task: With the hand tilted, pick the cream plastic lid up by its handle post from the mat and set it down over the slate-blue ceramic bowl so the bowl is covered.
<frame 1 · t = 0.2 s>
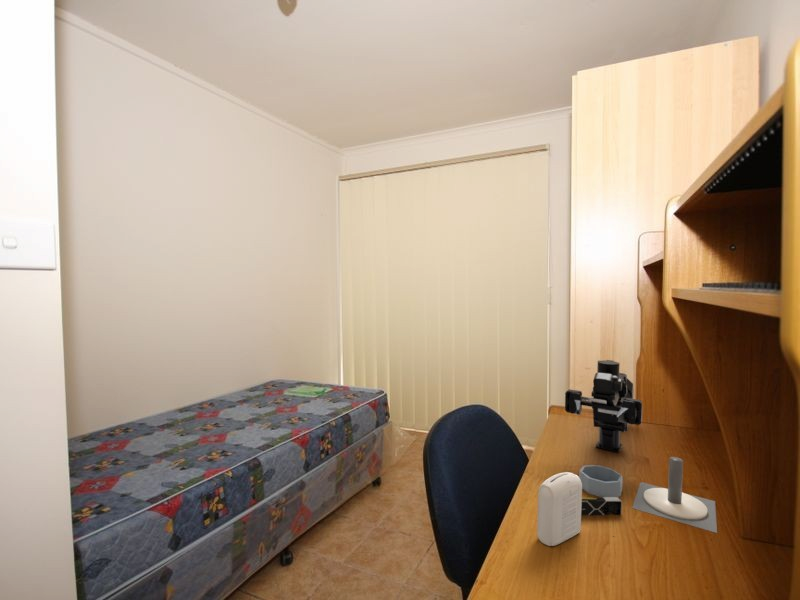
hand: (596, 415, 104), 17 cm above the table, tool horizontal, fingers open, 9 cm apart
mat: (674, 506, 93), on the table
lid: (674, 504, 93), resting on mat
graphics card: (593, 516, 89), on the table
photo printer: (559, 536, 82), on the table
bowl: (600, 489, 100), on the table
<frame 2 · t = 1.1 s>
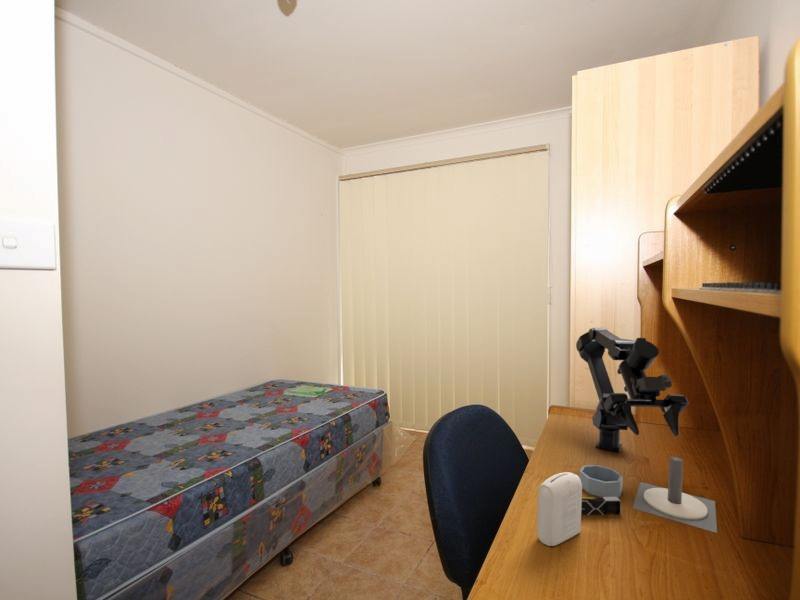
hand: (657, 435, 100), 14 cm above the table, tool tilted 45°, fingers open, 9 cm apart
nothing on the table moved.
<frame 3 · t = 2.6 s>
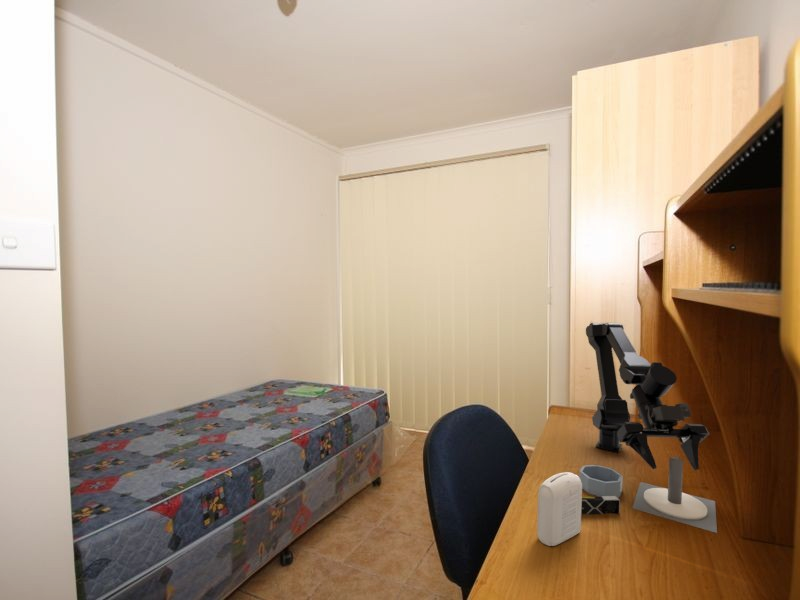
hand: (675, 469, 93), 9 cm above the table, tool tilted 45°, fingers open, 9 cm apart
nothing on the table moved.
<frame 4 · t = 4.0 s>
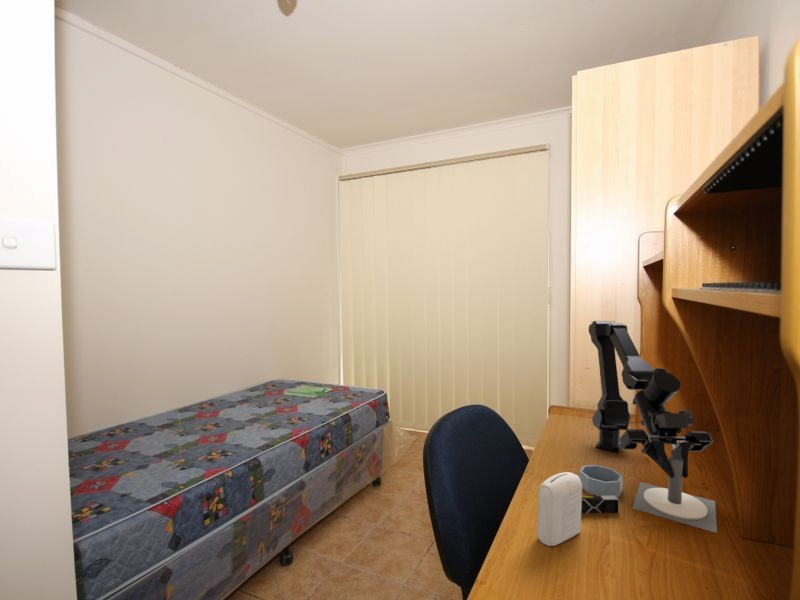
hand: (679, 477, 91), 7 cm above the table, tool tilted 45°, fingers closed on lid, 3 cm apart
lid: (674, 504, 93), resting on mat, touching gripper
everything else where it was.
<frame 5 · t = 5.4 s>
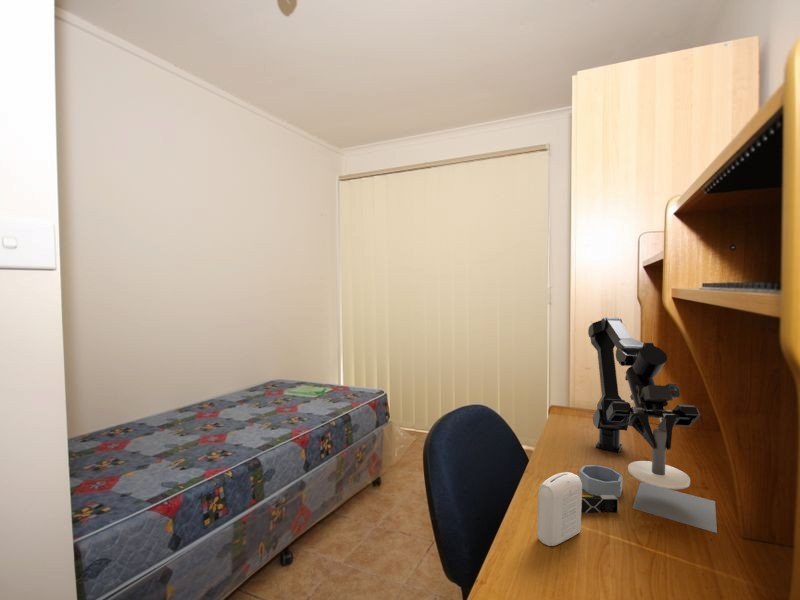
hand: (662, 448, 92), 13 cm above the table, tool tilted 45°, fingers closed on lid, 3 cm apart
lid: (658, 475, 94), point 6 cm above the table, touching gripper
everything else where it was.
when the fingers open (12 cm above the table, at t = 6.9 s): lid stays where it is, resting on bowl.
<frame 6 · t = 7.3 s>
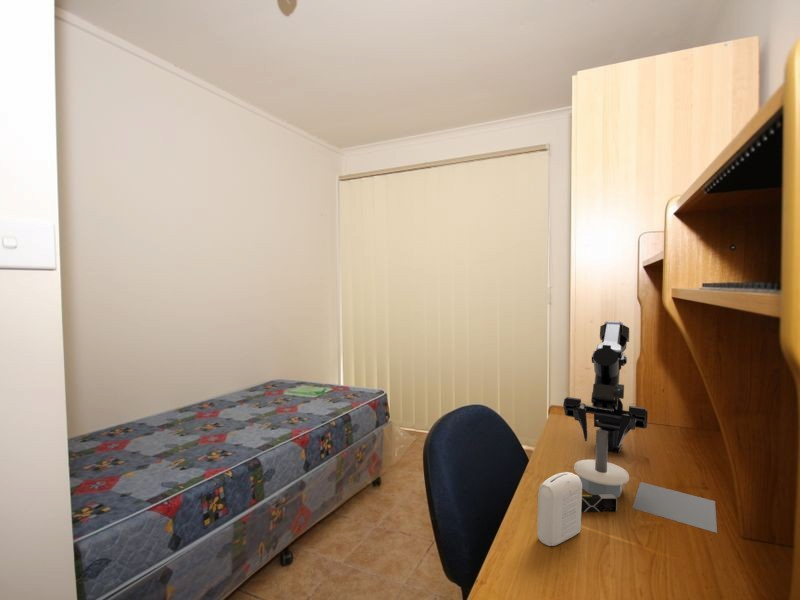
hand: (601, 443, 98), 12 cm above the table, tool tilted 45°, fingers open, 7 cm apart
lid: (600, 473, 100), point 4 cm above the table, touching bowl
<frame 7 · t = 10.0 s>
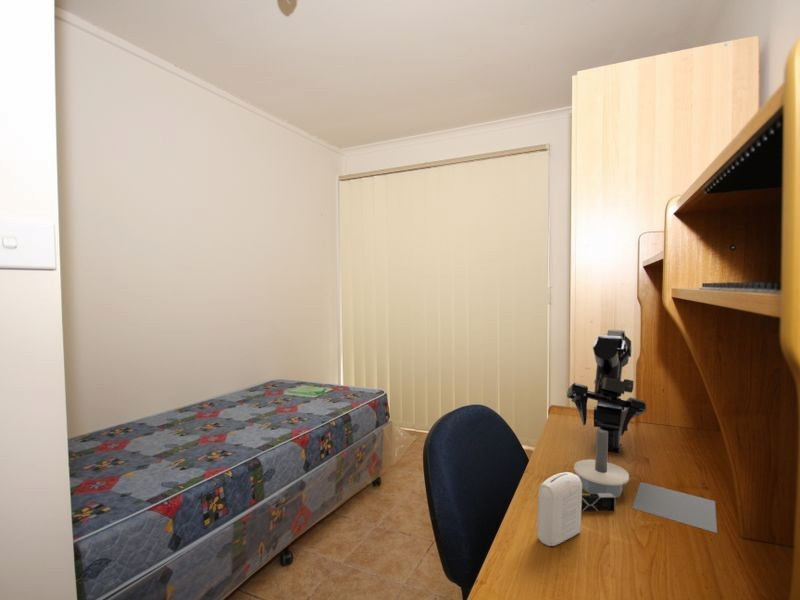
hand: (602, 430, 108), 12 cm above the table, tool tilted 35°, fingers open, 9 cm apart
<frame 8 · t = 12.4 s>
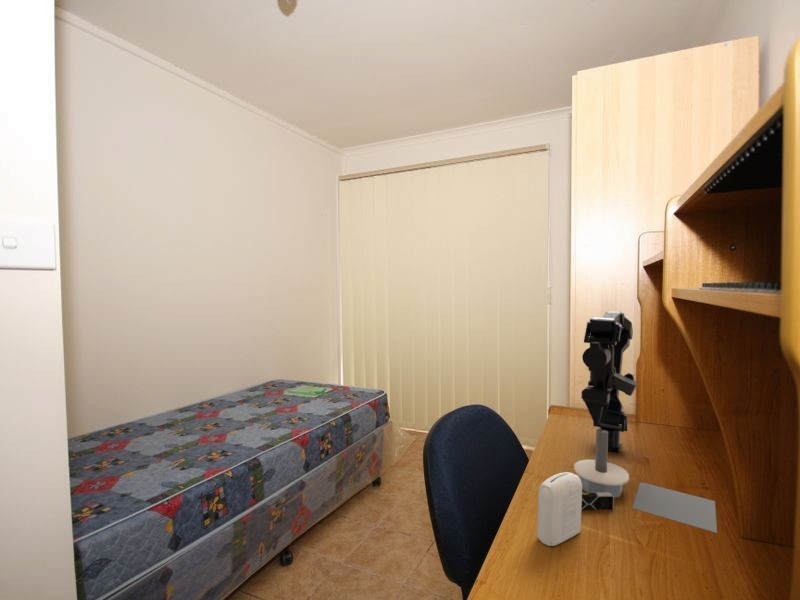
hand: (600, 419, 113), 13 cm above the table, tool pointing down, fingers open, 9 cm apart
at the end: lid 0.0 cm off-centre on the bowl, point 4.0 cm above the bowl's base; lid tilted 0°; the gripper is holding nothing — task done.
